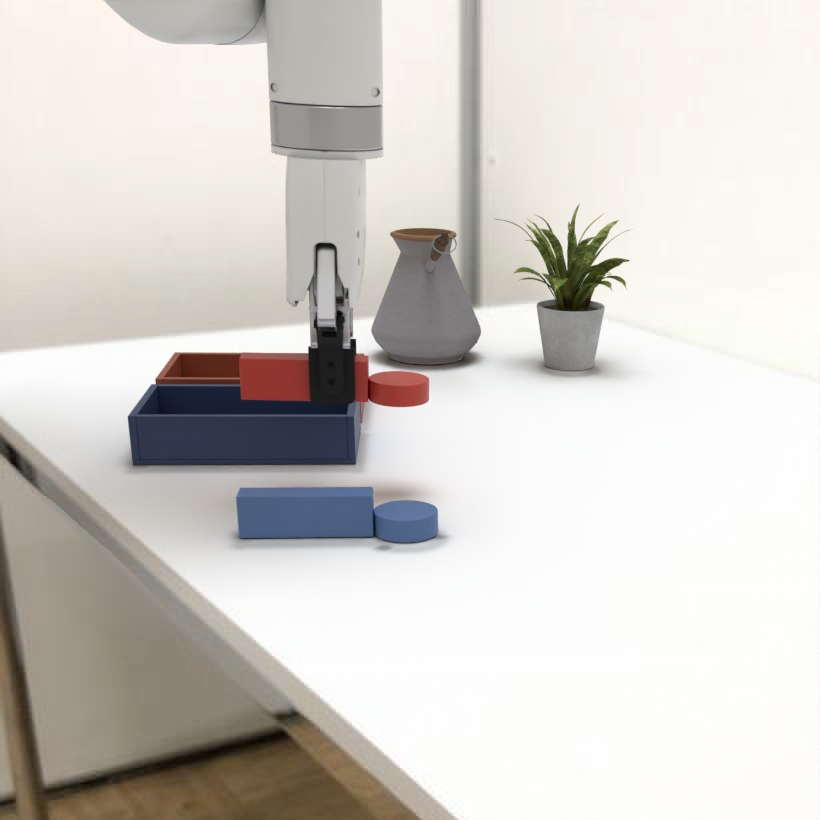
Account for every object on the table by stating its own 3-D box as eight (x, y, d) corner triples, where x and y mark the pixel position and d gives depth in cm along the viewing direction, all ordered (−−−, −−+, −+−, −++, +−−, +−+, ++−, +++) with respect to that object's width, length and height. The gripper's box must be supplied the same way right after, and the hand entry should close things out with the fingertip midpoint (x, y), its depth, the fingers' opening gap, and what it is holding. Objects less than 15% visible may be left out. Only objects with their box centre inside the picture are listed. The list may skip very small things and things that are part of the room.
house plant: (493, 381, 134) (493, 211, 128) (486, 350, 147) (486, 194, 141) (635, 382, 136) (643, 214, 130) (616, 351, 149) (622, 197, 143)
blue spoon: (236, 544, 91) (233, 502, 90) (244, 522, 95) (241, 481, 94) (438, 542, 92) (438, 500, 91) (437, 521, 96) (437, 480, 95)
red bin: (159, 423, 117) (154, 378, 115) (178, 393, 126) (174, 352, 125) (361, 423, 119) (360, 379, 118) (365, 394, 128) (364, 353, 127)
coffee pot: (367, 345, 147) (362, 202, 142) (472, 343, 150) (472, 203, 144) (386, 395, 128) (381, 232, 123) (506, 392, 131) (507, 232, 125)
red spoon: (239, 404, 96) (236, 362, 95) (246, 388, 100) (244, 348, 99) (429, 408, 98) (429, 367, 97) (428, 392, 102) (429, 352, 101)
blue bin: (132, 464, 106) (127, 416, 104) (155, 429, 115) (151, 383, 114) (355, 464, 108) (354, 416, 107) (360, 428, 117) (359, 384, 116)
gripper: (281, 120, 99) (290, 370, 106) (257, 139, 84) (270, 427, 91) (385, 125, 100) (388, 372, 107) (380, 145, 85) (383, 429, 92)
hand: (333, 395), depth 99 cm, fingers closed on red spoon, 2 cm apart
